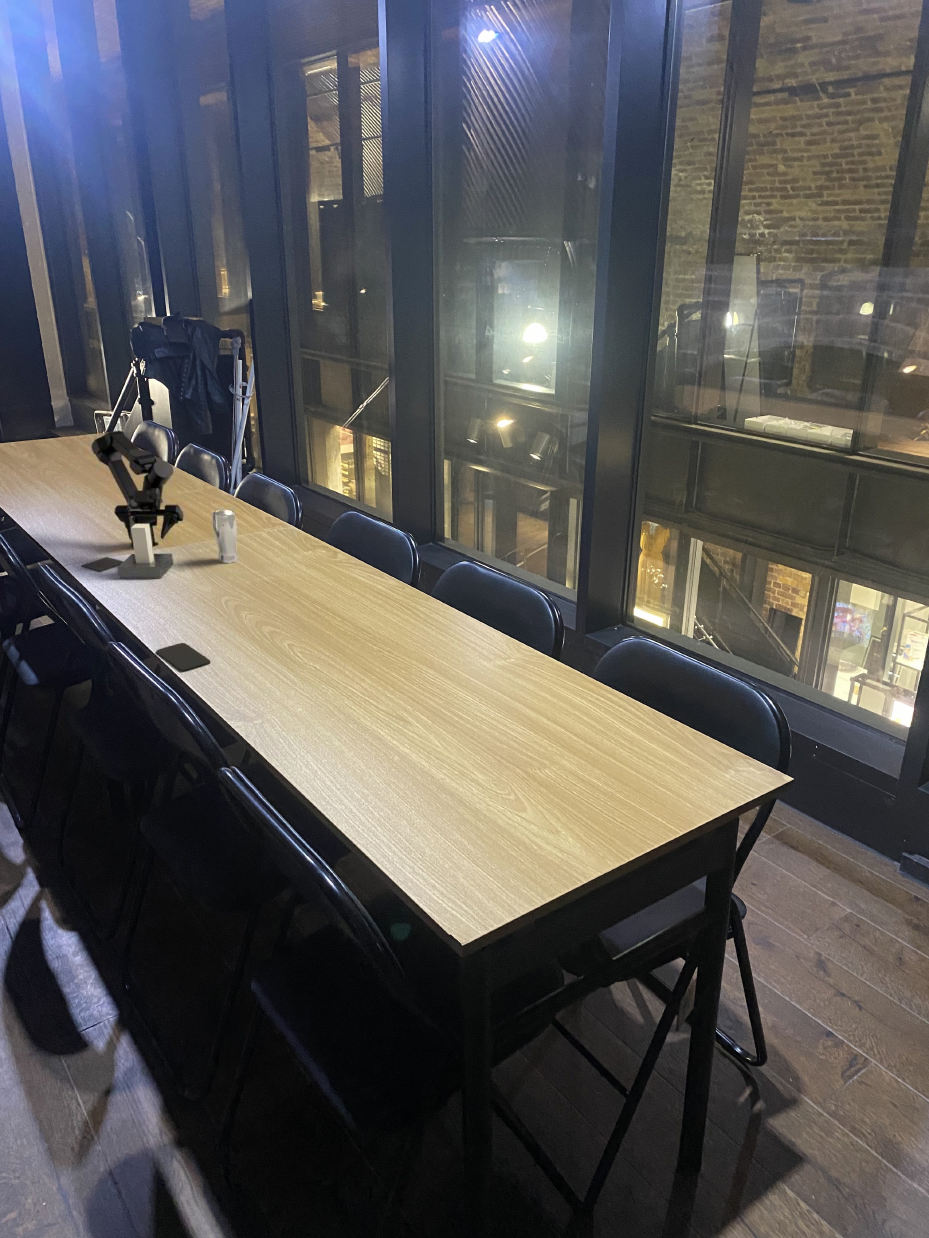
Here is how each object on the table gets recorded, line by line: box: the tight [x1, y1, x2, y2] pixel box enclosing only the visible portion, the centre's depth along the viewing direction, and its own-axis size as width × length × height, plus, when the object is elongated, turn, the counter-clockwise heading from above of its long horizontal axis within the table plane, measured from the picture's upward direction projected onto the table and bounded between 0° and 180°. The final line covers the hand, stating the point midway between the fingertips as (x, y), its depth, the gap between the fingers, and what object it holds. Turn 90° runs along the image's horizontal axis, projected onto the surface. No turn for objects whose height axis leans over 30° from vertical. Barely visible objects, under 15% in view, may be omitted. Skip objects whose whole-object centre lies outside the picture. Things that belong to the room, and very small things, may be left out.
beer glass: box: [211, 509, 240, 564], centre depth 265 cm, size 7×7×15 cm
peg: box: [131, 524, 155, 563], centre depth 256 cm, size 4×4×14 cm
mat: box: [80, 556, 125, 573], centre depth 264 cm, size 9×9×1 cm
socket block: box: [117, 553, 174, 580], centre depth 258 cm, size 12×12×4 cm
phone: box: [155, 642, 211, 673], centre depth 203 cm, size 7×1×15 cm
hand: (146, 538), depth 257 cm, fingers open, 9 cm apart
